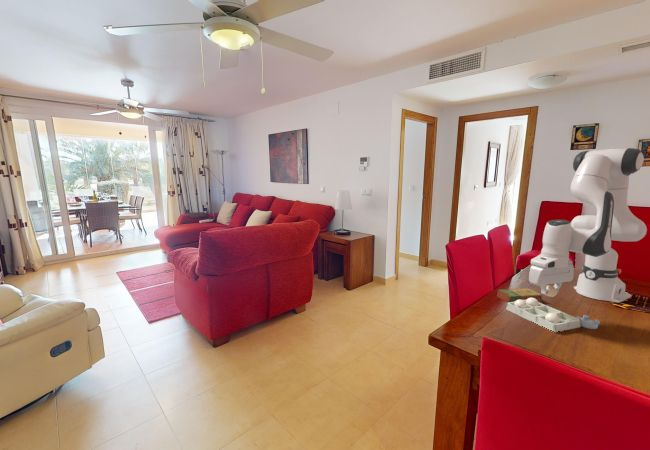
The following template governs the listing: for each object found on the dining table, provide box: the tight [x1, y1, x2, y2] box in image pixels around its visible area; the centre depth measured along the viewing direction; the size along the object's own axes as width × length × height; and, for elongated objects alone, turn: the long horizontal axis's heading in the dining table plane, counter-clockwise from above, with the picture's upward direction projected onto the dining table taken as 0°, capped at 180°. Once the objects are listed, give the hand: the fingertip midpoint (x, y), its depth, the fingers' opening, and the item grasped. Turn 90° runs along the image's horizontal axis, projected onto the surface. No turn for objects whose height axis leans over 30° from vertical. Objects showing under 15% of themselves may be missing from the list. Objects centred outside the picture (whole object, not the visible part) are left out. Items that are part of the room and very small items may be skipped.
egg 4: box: [545, 313, 560, 324], centre depth 111 cm, size 5×5×5 cm
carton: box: [496, 287, 543, 304], centre depth 137 cm, size 8×16×4 cm, turn 95°
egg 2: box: [526, 298, 540, 307], centre depth 126 cm, size 5×5×5 cm
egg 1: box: [514, 299, 527, 309], centre depth 124 cm, size 5×5×5 cm
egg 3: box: [544, 284, 558, 298], centre depth 118 cm, size 5×5×5 cm
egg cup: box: [576, 314, 600, 330], centre depth 113 cm, size 6×6×3 cm
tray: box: [505, 300, 582, 333], centre depth 119 cm, size 14×20×3 cm
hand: (549, 292), depth 118 cm, fingers closed on egg 3, 5 cm apart
